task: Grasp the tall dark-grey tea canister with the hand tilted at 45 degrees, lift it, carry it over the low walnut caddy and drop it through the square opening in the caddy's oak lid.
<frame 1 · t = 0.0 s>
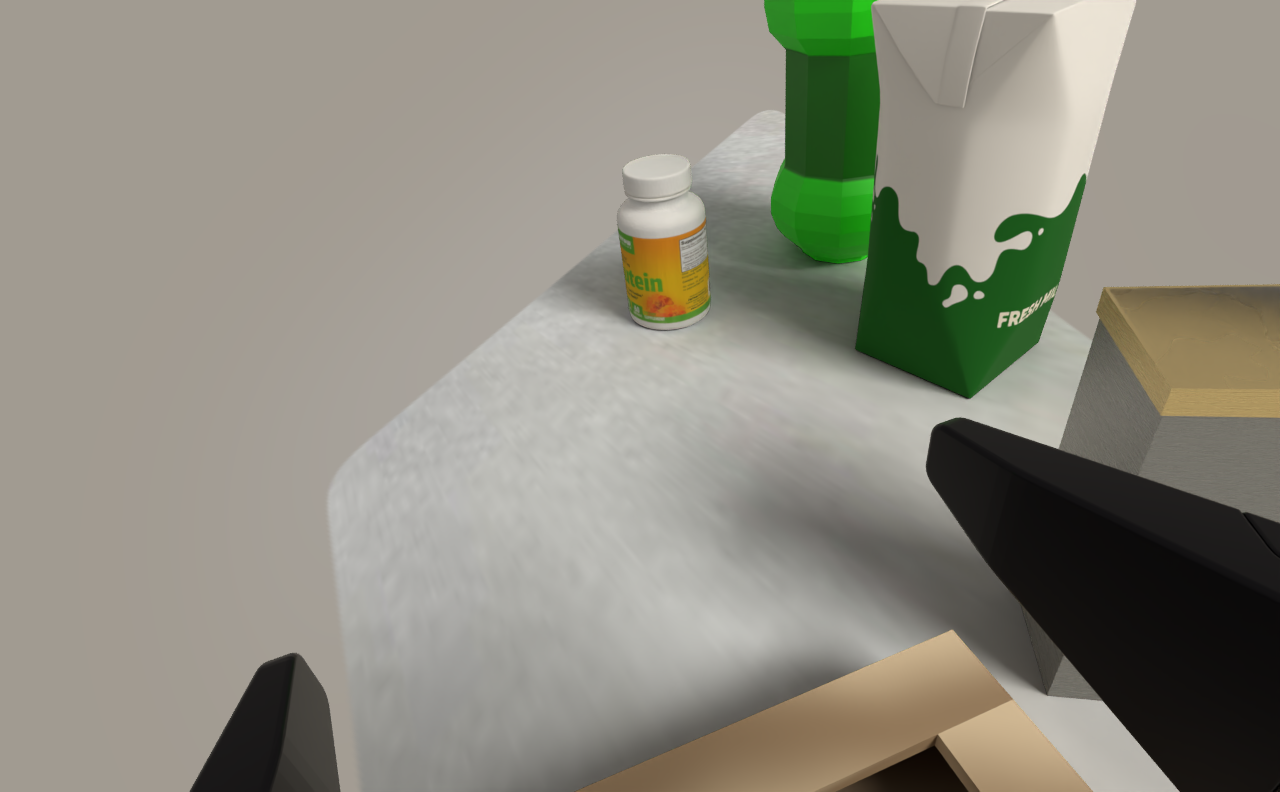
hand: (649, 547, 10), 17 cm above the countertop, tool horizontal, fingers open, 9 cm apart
milk carton: (945, 350, 41), on the countertop
plastic bottle: (838, 249, 52), on the countertop
supplement bottle: (670, 313, 47), on the countertop
tea canister: (1099, 642, 25), on the countertop
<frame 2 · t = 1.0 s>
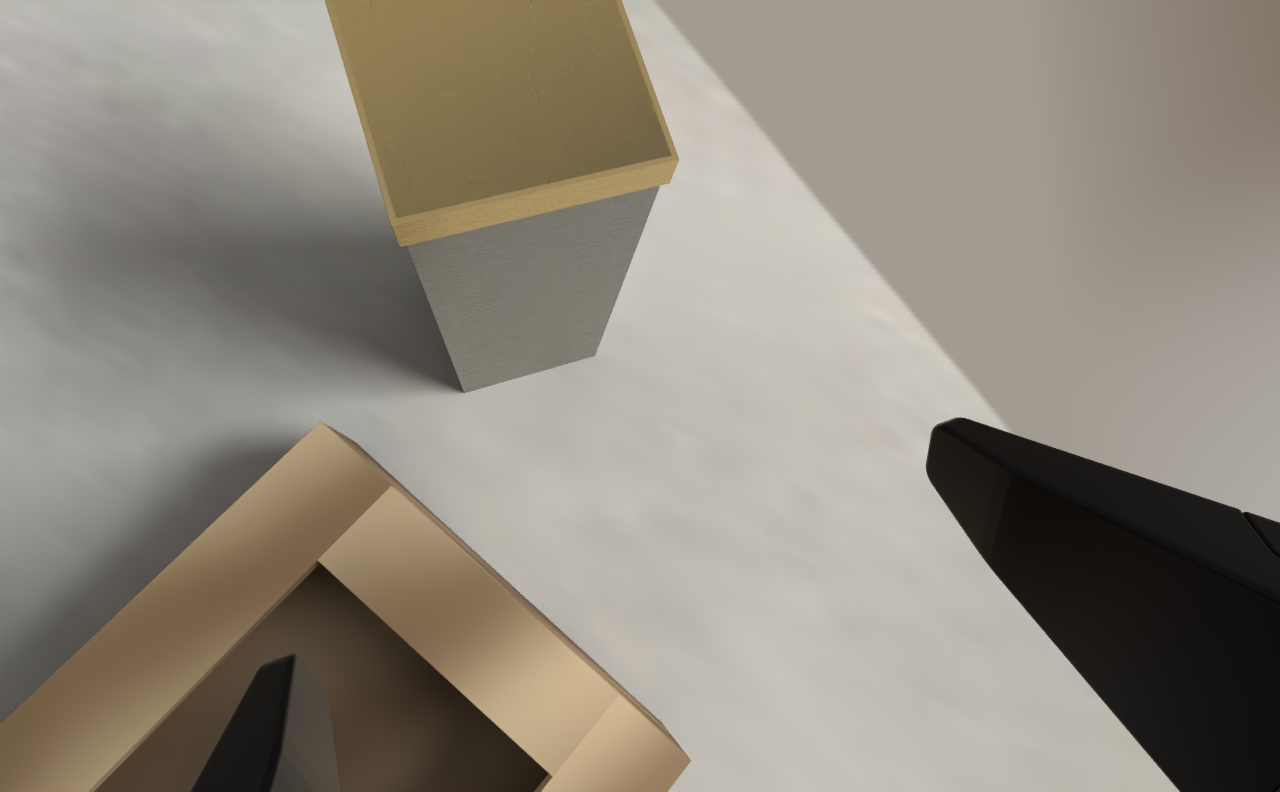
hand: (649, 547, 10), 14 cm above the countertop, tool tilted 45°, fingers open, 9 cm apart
caddy: (351, 756, 21), on the countertop
tea canister: (511, 311, 24), on the countertop
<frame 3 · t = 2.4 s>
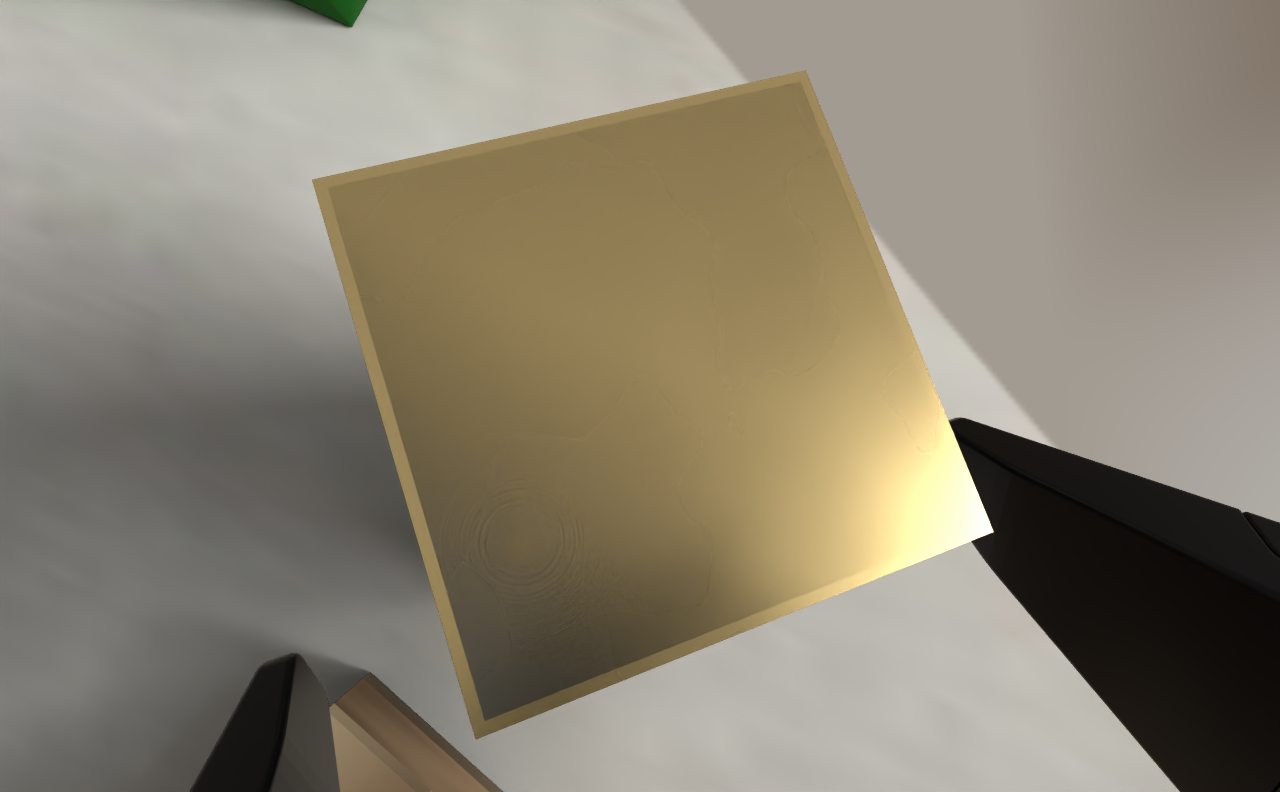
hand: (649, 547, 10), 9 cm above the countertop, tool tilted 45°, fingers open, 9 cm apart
tea canister: (568, 481, 19), on the countertop
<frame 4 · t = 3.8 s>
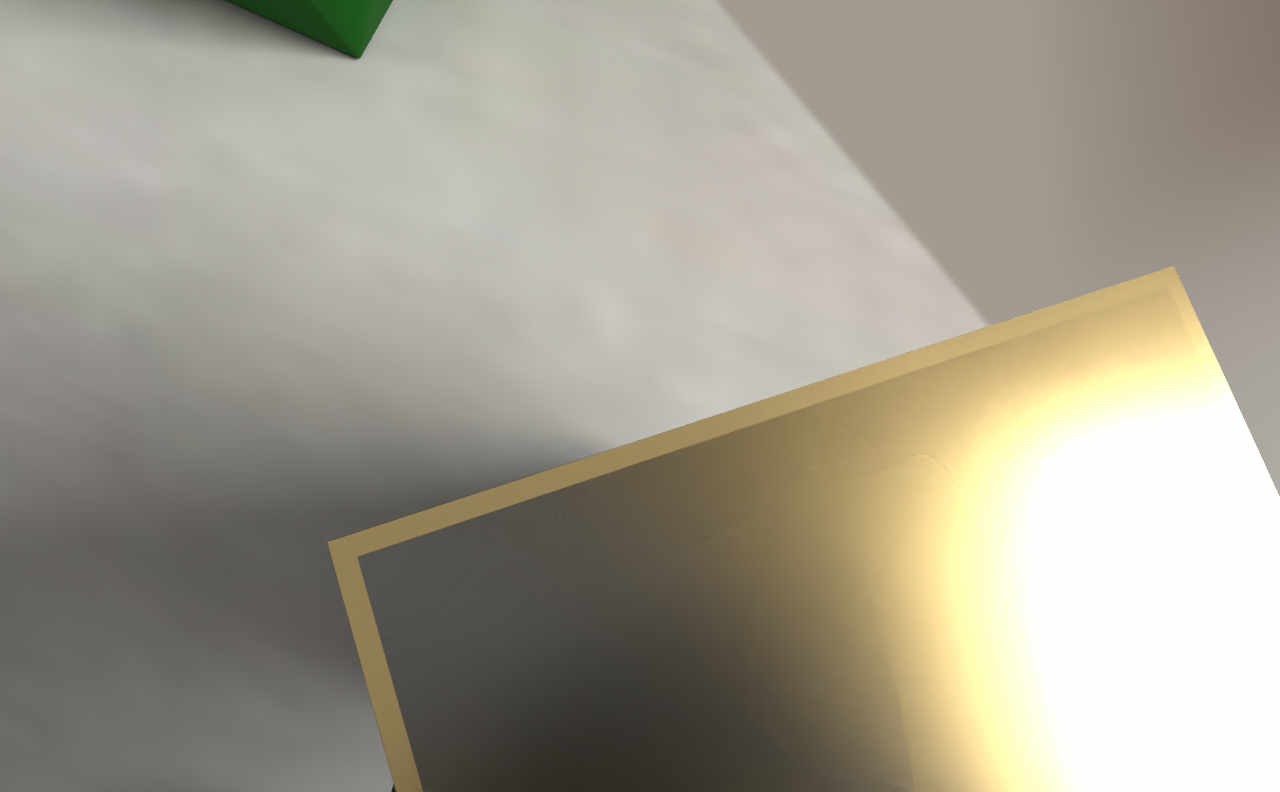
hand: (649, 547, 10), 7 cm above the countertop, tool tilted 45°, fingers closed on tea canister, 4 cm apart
tea canister: (617, 602, 16), on the countertop, touching gripper
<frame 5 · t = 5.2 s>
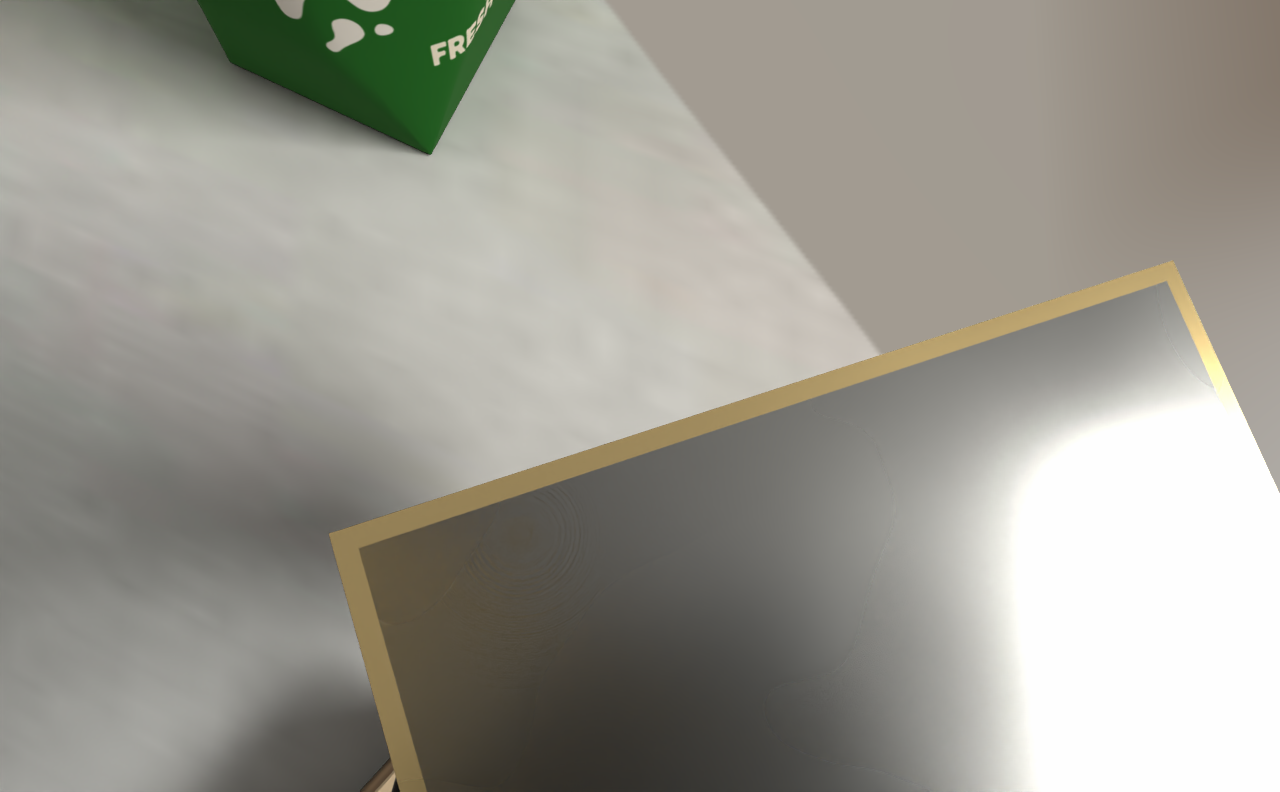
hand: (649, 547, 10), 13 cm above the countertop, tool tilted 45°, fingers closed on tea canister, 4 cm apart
milk carton: (382, 34, 25), on the countertop
tea canister: (617, 601, 16), point 7 cm above the countertop, touching gripper
when the fingers open (11 cm above the countertop, at t = 6.9 s): tea canister drops 4 cm, resting on caddy.
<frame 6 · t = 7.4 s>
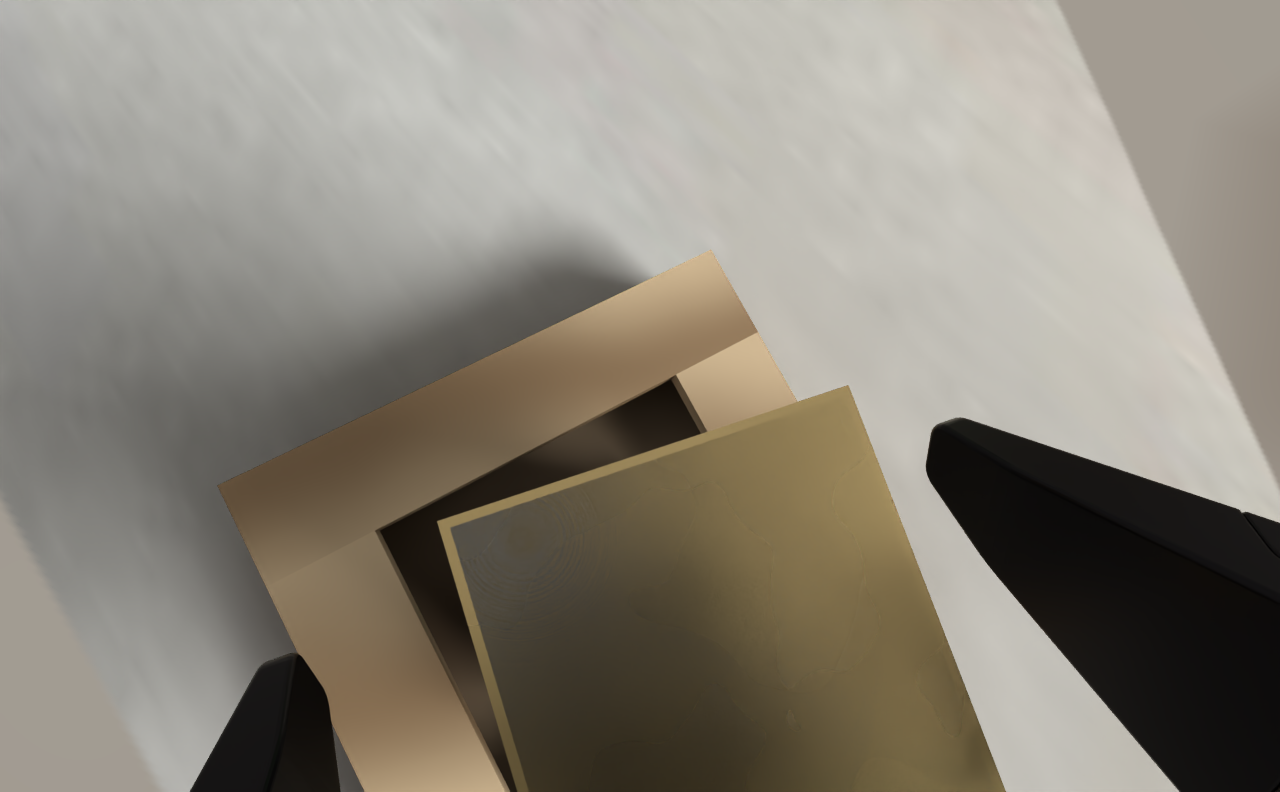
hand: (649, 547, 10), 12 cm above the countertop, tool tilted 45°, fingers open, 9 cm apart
caddy: (595, 586, 21), on the countertop
tea canister: (598, 586, 20), point 1 cm above the countertop, touching caddy
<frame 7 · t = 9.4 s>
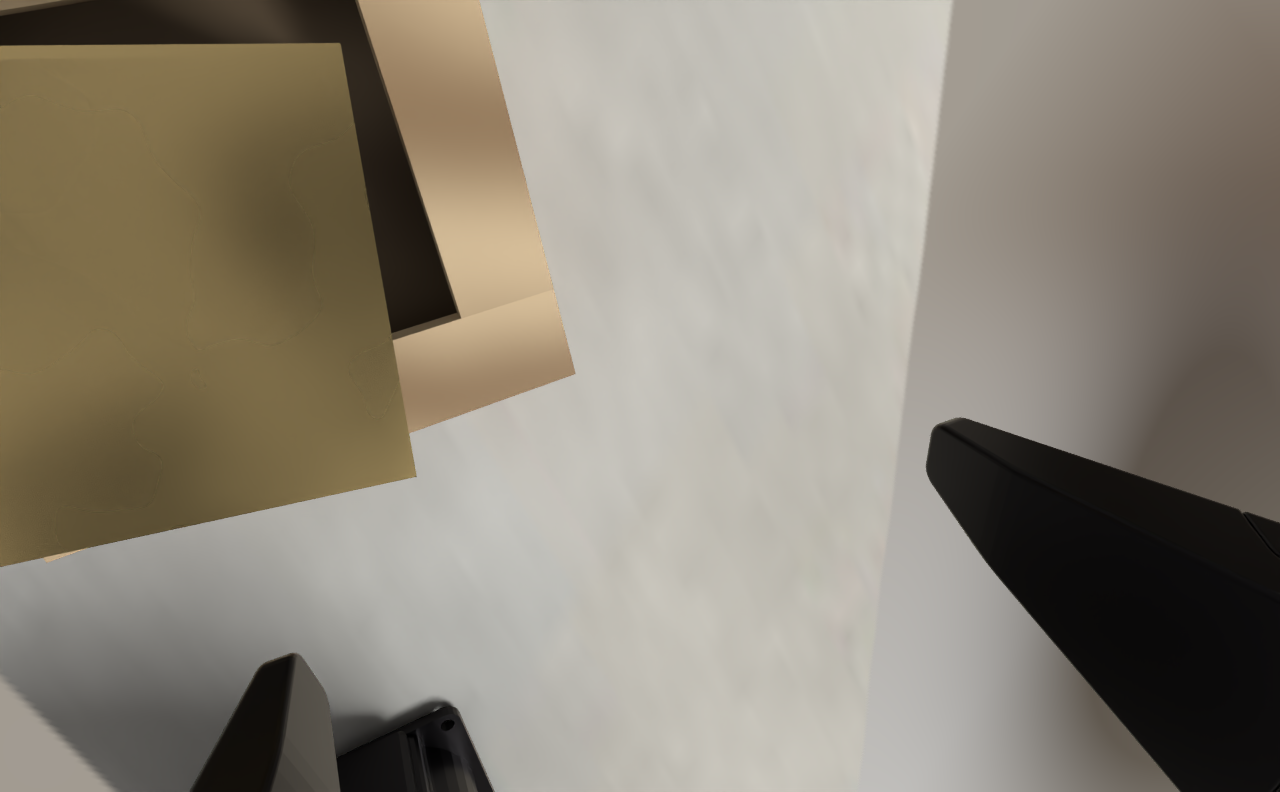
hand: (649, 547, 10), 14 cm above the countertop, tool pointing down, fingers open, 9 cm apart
caddy: (237, 184, 19), on the countertop
tea canister: (235, 185, 18), point 1 cm above the countertop, touching caddy
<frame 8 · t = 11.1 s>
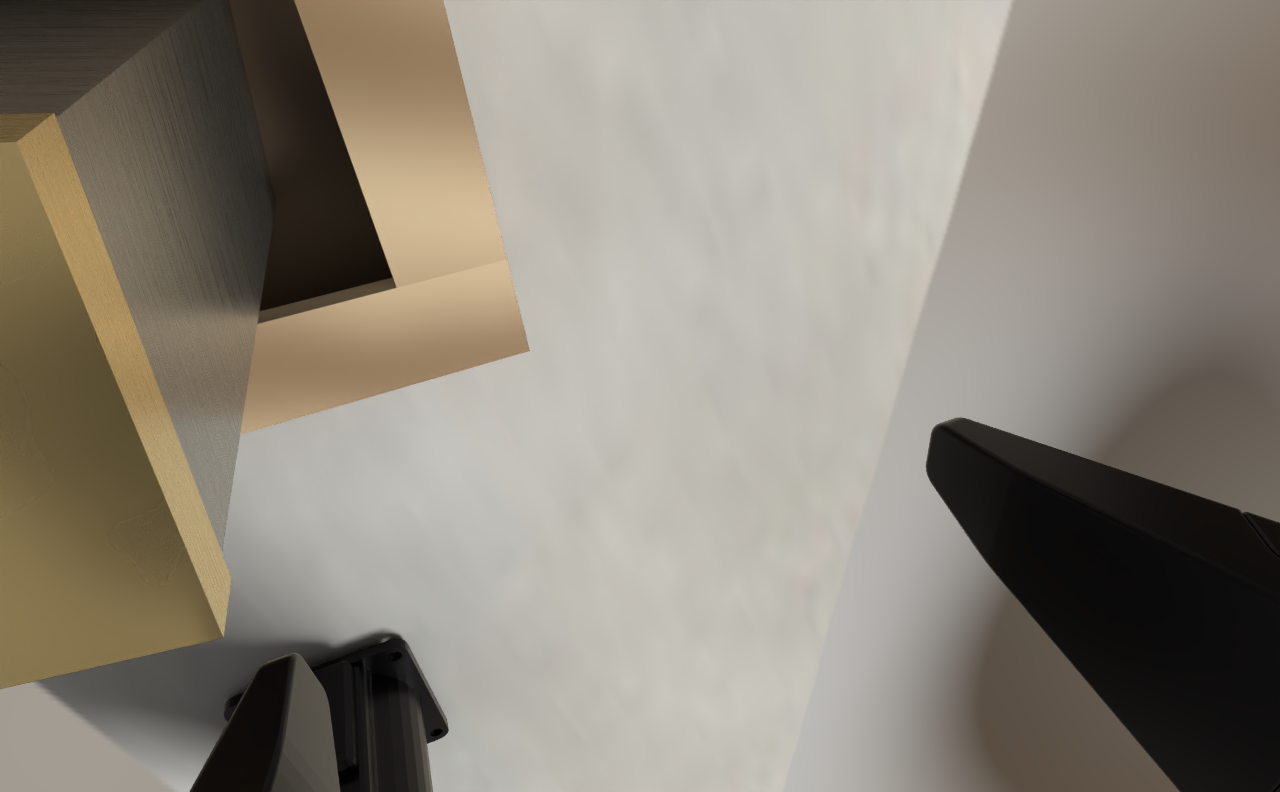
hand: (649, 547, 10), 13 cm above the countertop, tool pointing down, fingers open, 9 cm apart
caddy: (140, 97, 16), on the countertop
tea canister: (134, 102, 15), point 1 cm above the countertop, touching caddy
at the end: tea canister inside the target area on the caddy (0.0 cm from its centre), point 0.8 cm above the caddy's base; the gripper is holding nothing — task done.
